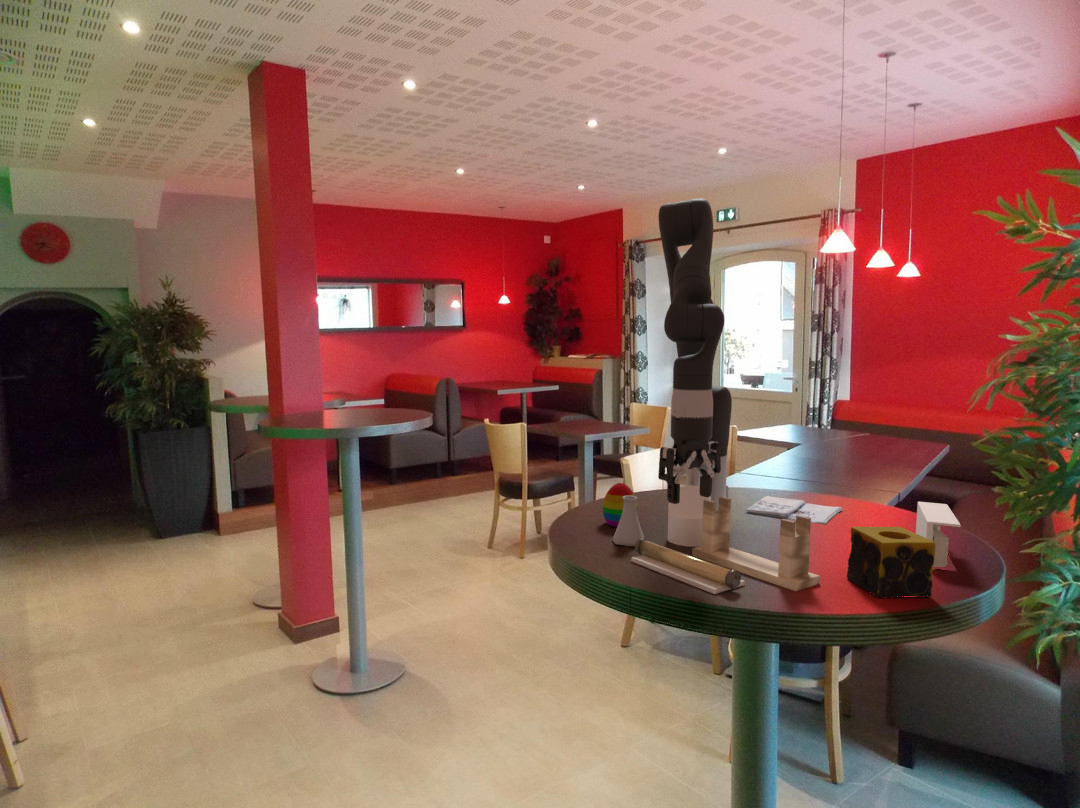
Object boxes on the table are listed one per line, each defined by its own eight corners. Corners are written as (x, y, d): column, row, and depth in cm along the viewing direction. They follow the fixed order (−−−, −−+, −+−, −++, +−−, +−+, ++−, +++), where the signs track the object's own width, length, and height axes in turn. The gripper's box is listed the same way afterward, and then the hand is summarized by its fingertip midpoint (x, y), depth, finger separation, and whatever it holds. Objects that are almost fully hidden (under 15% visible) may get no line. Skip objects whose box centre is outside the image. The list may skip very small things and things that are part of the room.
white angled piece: (957, 573, 131) (960, 524, 130) (924, 569, 133) (927, 521, 132) (943, 545, 149) (946, 502, 148) (914, 542, 151) (917, 500, 150)
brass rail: (636, 556, 137) (633, 542, 136) (647, 549, 139) (644, 535, 138) (730, 592, 118) (727, 576, 117) (742, 583, 120) (739, 567, 119)
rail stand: (715, 549, 143) (717, 494, 142) (819, 583, 123) (822, 519, 122) (692, 555, 139) (694, 498, 138) (795, 591, 119) (798, 525, 118)
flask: (644, 548, 144) (646, 501, 143) (610, 546, 145) (611, 499, 144) (646, 539, 151) (647, 494, 150) (613, 536, 152) (614, 492, 151)
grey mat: (660, 554, 139) (660, 550, 139) (744, 585, 122) (744, 580, 122) (631, 561, 135) (631, 557, 135) (714, 594, 118) (714, 589, 118)
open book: (767, 501, 190) (767, 493, 190) (844, 512, 179) (845, 504, 179) (743, 515, 175) (743, 506, 175) (826, 528, 163) (827, 519, 163)
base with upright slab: (711, 537, 153) (713, 484, 151) (707, 548, 144) (709, 492, 143) (670, 533, 155) (672, 481, 154) (664, 543, 147) (666, 489, 146)
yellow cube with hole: (845, 579, 126) (848, 526, 126) (897, 578, 127) (900, 525, 126) (876, 599, 116) (880, 542, 115) (933, 598, 117) (937, 541, 116)
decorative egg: (633, 520, 166) (634, 479, 165) (639, 529, 158) (640, 486, 157) (600, 520, 166) (601, 479, 165) (604, 529, 158) (605, 486, 157)
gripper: (702, 409, 133) (700, 490, 134) (649, 413, 125) (647, 501, 126) (733, 412, 127) (730, 498, 128) (680, 418, 118) (678, 509, 120)
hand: (689, 499), depth 127 cm, fingers open, 8 cm apart
